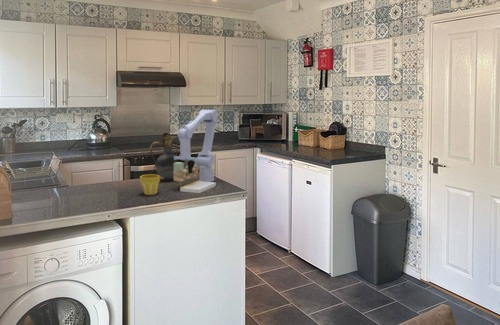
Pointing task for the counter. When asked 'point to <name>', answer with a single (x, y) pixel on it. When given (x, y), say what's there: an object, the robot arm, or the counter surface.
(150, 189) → the plant pot
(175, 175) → the tan wooden bar
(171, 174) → the pitcher
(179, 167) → the block
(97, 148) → the counter surface
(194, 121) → the robot arm
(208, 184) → the dock
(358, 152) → the counter surface
